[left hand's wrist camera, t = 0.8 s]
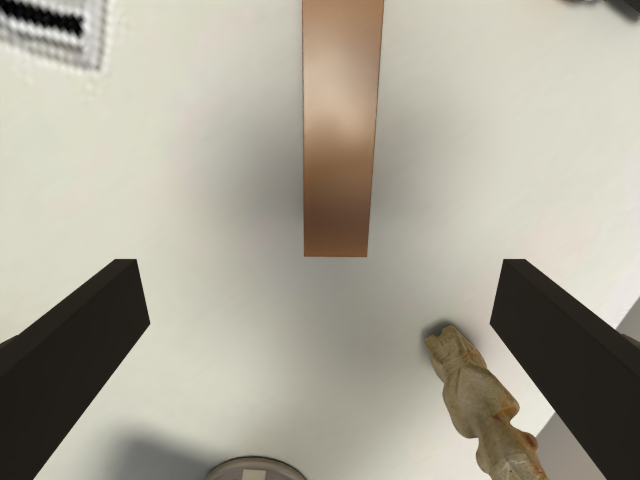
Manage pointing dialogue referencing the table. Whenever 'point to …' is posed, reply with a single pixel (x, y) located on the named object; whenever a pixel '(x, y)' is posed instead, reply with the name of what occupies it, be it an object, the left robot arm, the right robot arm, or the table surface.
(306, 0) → the bar
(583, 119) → the table surface
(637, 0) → the spray gun
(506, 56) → the table surface
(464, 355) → the sculpture
